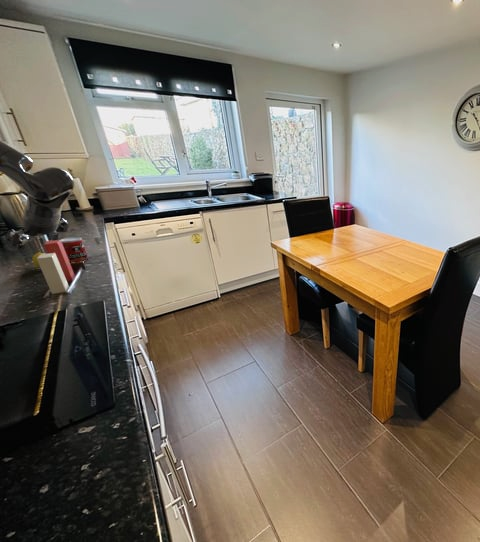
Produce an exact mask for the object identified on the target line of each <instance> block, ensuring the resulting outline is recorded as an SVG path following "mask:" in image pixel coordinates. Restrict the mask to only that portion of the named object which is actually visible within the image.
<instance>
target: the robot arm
mask: <svg viewBox="0 0 480 542" xmlns="http://www.w3.org/2000/svg"><path fill="white" fill-rule="evenodd" d="M33 167H34V162H33V160H32V159H31V158H30V157H28V156H27V155H26V154H24V153H22V152H21V151H19V150H18V149H15V148H13V146H10V145H8V144H7V143H5V142H4V141H2V140H0V173H1V174H3V175H4V176H6V177H7V178H9V180H10V181H12V182H13V183H14V184H16V185H17V186H18V187H19V188H20V189H21V190H22V191H24V193H26V194H27V197H26V204H25V205H24V206H25V207H24V209H23V215H22V222H21V223H22V227H21V228H20V230H14V229H9V230H7V233H6V238H5V241H6V242H8V243H9V244H10V246H11V247H15V248H16V249H17V250H21V251H23V250H25V247H26V243H28V242H33V241H34V240H35V239H37V238H38V237H41V236H46V235H48V237H49V238H50V239H51V241H54V240H58V239H59V236H60V235H61V234H62V233H67V232H68V229H69V228H68V227H69V222H67V220H65V218H63V217H62V209H63V206H64V203H65V202H66V201H67V200H68V198H69V197H70V196H71V195H72V193H73V192H74V190H75V181H74V178H73V176H72V175H71V174H70V173H69V172H67V171H66V170H64V169H62V168H60V167H54V166H53V167H46V168H44V169H43V168H42V169H41V170H38V171H36V172H33V173H30V172H31V171H32V169H33Z"/></svg>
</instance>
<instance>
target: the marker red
mask: <svg viewBox="0 0 480 542" xmlns="http://www.w3.org/2000/svg"><path fill="white" fill-rule="evenodd" d="M43 246H44V249H45V251H46V254H49V253H55V254H56V256H57V259H58V261H59V263H60V266H61V268H62V271H63V273H64V276H65V278H66V280H67V281H73V279H74V277H75V275H74V272H73V270H72V267H71V265H70V262H69V260H68V257H67V255H66V252H65V250H64V247H63V244H62V242H61V239H56V240H54V241H53V240H47V241H46V242H45V243H43Z"/></svg>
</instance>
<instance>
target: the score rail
mask: <svg viewBox="0 0 480 542" xmlns="http://www.w3.org/2000/svg"><path fill="white" fill-rule="evenodd" d="M70 265H71V267H72V270H73V272H74V275H75V277H74V279H73V280H72V281H67V283H68V285H69V288H68V289H67V291H66V292H61V293H55V294H52V293H51V290H50V288H48V290H47V291H46V292H45V294H44V295H43V297H42V299H45V298H46V299H47V298H50V297H51V298H52V297H59V296H63V295H68V294H73V293H74V291H75V289H76V287H77V285H78V283H79V281H80V279H81V277H82V276H81V275H83V274H84V272H85V269H86V268H87V267H86V264H85V261H83V262H75V263H70Z"/></svg>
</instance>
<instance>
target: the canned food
mask: <svg viewBox="0 0 480 542" xmlns="http://www.w3.org/2000/svg"><path fill="white" fill-rule="evenodd" d="M60 240H61V242H62V244H63V247H64V250H65V252H66V255H67V257H68V260H69V262H80V261H84V260H87V259H88V258H89V254H88V251H87V249H86V246H85V244H84V240H83V238H82V237H80V236H71V237H70V236H69V237H65V238H61V239H60ZM88 260H89V259H88ZM88 260H87V261H88ZM84 262H85V261H84Z"/></svg>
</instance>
